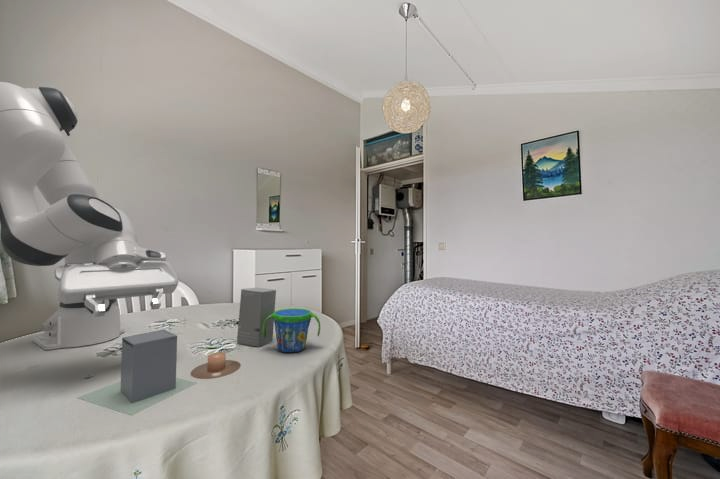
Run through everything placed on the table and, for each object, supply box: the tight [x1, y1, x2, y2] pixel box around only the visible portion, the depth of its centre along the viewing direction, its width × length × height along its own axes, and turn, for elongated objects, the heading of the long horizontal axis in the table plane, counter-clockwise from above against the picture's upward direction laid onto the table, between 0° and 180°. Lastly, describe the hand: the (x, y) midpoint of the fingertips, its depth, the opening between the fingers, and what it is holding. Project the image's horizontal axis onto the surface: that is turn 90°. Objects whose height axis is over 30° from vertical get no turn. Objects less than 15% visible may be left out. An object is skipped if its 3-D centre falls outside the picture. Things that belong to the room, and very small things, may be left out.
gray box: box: [120, 329, 178, 403], centre depth 54 cm, size 7×7×10 cm
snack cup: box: [263, 308, 321, 353], centre depth 79 cm, size 16×10×10 cm
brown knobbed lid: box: [190, 351, 241, 380], centre depth 64 cm, size 10×10×4 cm
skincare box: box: [236, 287, 277, 348], centre depth 85 cm, size 8×7×16 cm
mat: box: [76, 377, 197, 416], centre depth 54 cm, size 15×12×1 cm
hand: (129, 310), depth 60 cm, fingers open, 8 cm apart
